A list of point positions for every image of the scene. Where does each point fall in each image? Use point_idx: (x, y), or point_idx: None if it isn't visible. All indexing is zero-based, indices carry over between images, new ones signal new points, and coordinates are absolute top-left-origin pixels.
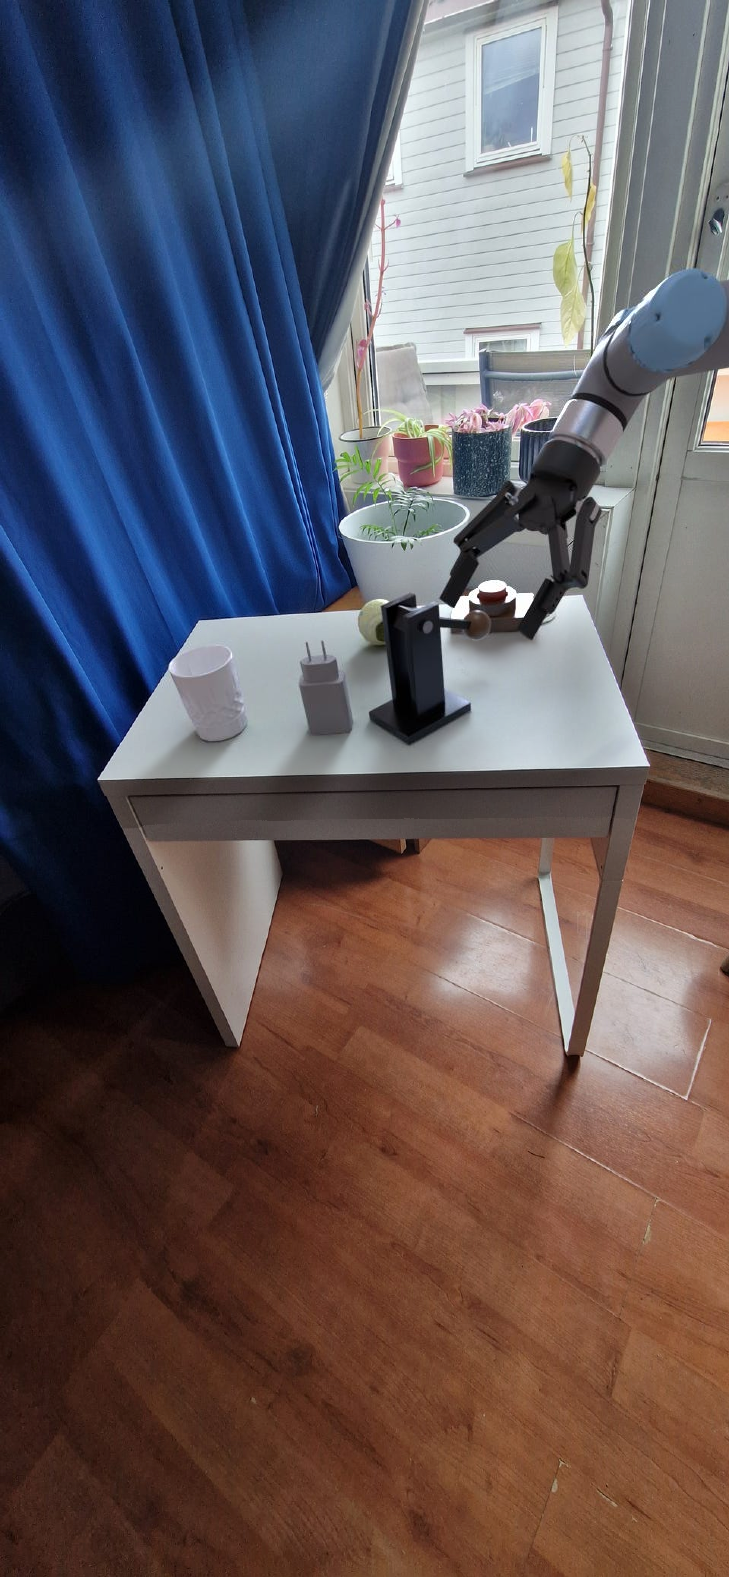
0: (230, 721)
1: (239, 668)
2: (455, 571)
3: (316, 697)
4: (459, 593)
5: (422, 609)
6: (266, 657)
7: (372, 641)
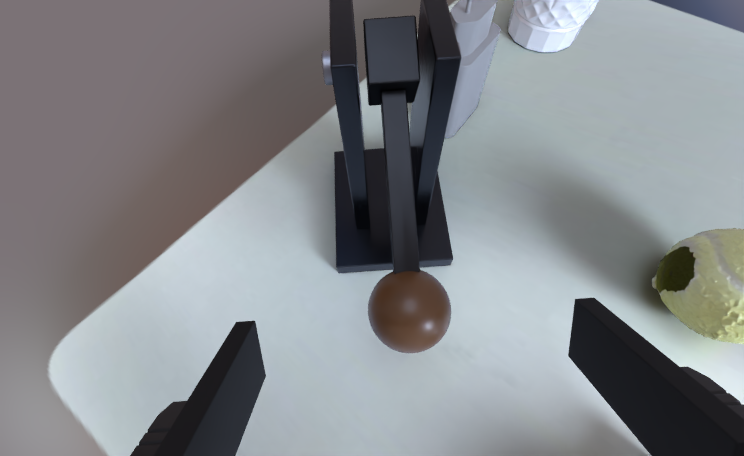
0: (515, 12)
1: (707, 86)
2: (665, 365)
3: None
4: (599, 378)
5: (339, 30)
6: (730, 125)
7: (671, 258)
